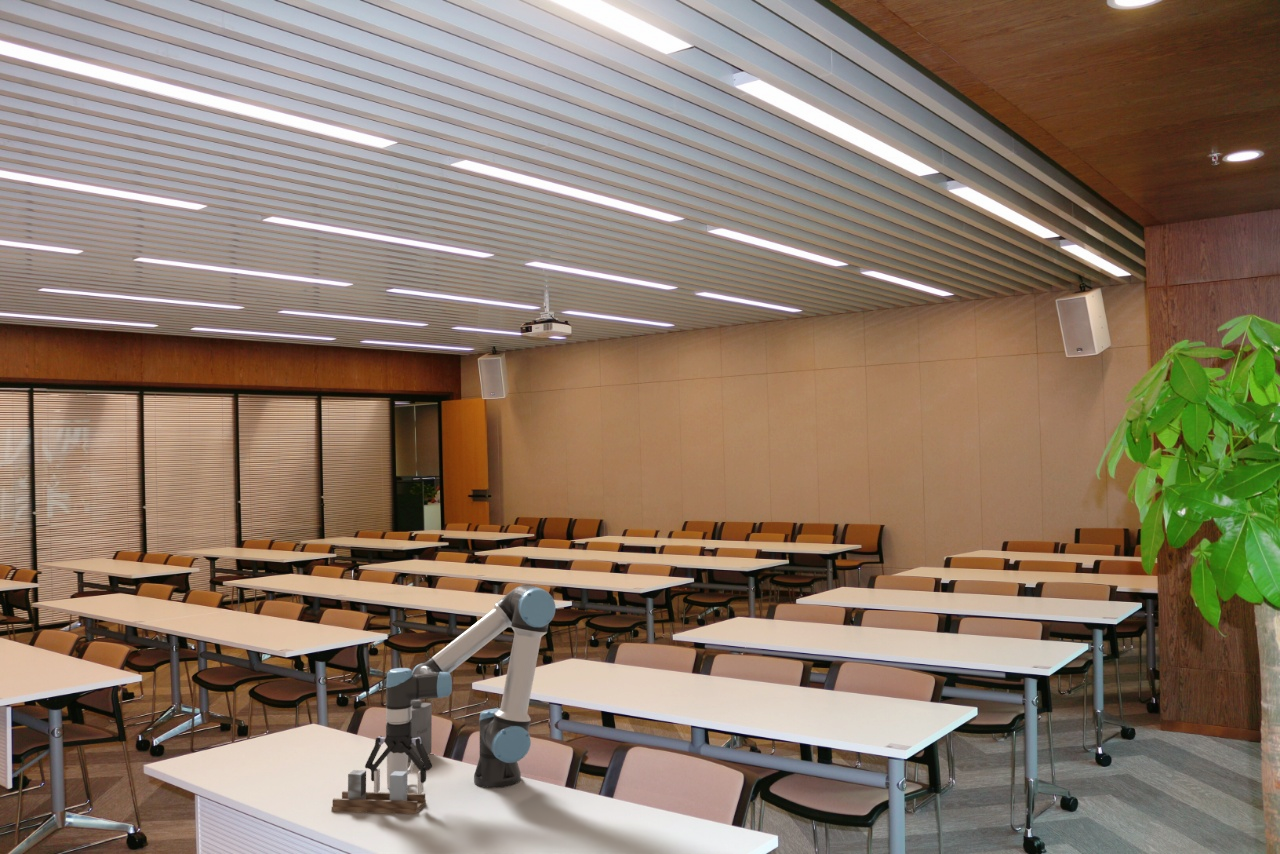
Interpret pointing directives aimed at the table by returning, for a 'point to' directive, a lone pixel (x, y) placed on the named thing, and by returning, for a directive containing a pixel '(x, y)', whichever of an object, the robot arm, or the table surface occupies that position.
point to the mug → (397, 764)
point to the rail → (374, 799)
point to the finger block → (398, 786)
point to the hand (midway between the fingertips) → (398, 792)
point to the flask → (421, 725)
